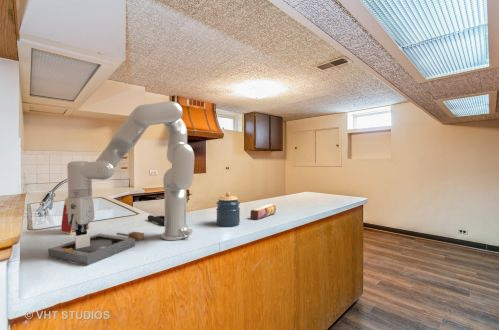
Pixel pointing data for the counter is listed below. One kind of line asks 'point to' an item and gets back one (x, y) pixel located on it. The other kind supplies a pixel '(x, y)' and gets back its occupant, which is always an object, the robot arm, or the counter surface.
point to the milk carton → (65, 226)
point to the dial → (89, 243)
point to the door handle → (157, 219)
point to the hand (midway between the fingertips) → (81, 241)
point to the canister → (228, 211)
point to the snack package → (263, 211)
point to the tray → (71, 255)
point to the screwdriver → (134, 235)
